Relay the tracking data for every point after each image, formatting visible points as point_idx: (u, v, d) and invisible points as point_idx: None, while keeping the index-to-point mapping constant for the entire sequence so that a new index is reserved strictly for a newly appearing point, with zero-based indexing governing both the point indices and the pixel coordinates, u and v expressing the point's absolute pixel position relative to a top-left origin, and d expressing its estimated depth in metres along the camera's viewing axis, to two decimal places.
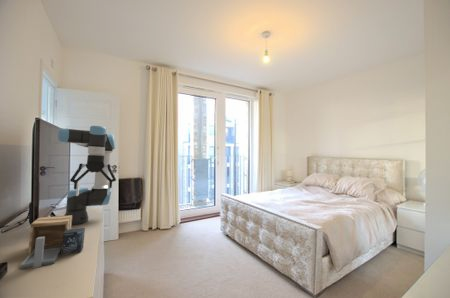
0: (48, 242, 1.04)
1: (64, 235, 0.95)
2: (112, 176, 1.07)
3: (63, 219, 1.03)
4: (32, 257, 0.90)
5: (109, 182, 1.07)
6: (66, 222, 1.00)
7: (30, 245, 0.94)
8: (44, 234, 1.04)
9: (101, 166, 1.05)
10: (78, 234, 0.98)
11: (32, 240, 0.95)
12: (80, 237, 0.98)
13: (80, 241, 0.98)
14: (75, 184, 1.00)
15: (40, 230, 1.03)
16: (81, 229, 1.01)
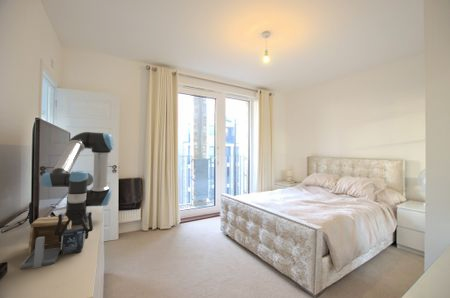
0: (48, 242, 1.04)
1: (64, 235, 0.95)
2: (90, 225, 1.02)
3: (63, 219, 1.03)
4: (32, 257, 0.90)
5: (85, 233, 1.01)
6: None
7: (30, 245, 0.94)
8: (44, 234, 1.04)
9: (82, 213, 1.00)
10: (78, 234, 0.98)
11: (32, 240, 0.95)
12: (80, 237, 0.98)
13: (80, 241, 0.98)
14: (60, 237, 0.96)
15: (40, 230, 1.03)
16: (81, 229, 1.01)
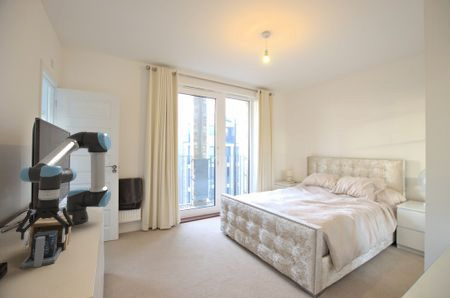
0: None
1: (34, 239, 0.88)
2: (68, 221, 0.95)
3: (63, 219, 1.03)
4: None
5: (64, 228, 0.95)
6: None
7: (30, 245, 0.94)
8: None
9: (55, 211, 0.93)
10: (50, 238, 0.91)
11: (32, 240, 0.95)
12: (52, 240, 0.91)
13: (52, 245, 0.91)
14: (22, 234, 0.88)
15: (40, 230, 1.03)
16: (53, 232, 0.94)
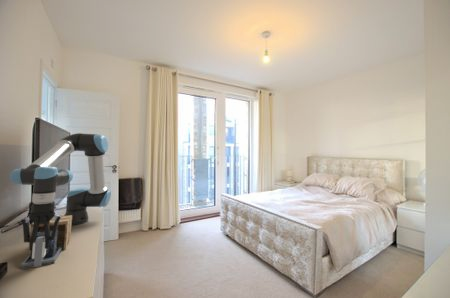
0: None
1: None
2: (53, 232, 0.87)
3: (63, 219, 1.03)
4: None
5: (45, 241, 0.85)
6: (66, 222, 1.00)
7: None
8: None
9: (49, 215, 0.86)
10: None
11: None
12: (52, 240, 0.91)
13: (52, 245, 0.91)
14: (31, 244, 0.84)
15: (40, 230, 1.03)
16: None
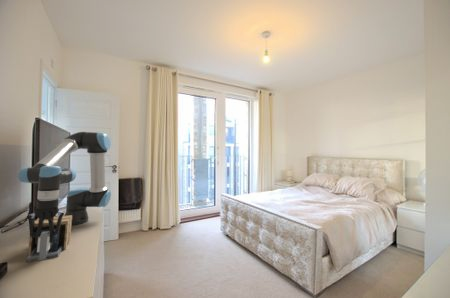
0: None
1: None
2: (56, 227, 0.92)
3: (63, 219, 1.03)
4: None
5: (49, 236, 0.91)
6: (66, 222, 1.00)
7: (30, 245, 0.94)
8: None
9: (53, 212, 0.92)
10: None
11: (32, 240, 0.95)
12: (56, 235, 0.96)
13: (56, 239, 0.96)
14: (36, 239, 0.89)
15: None
16: None
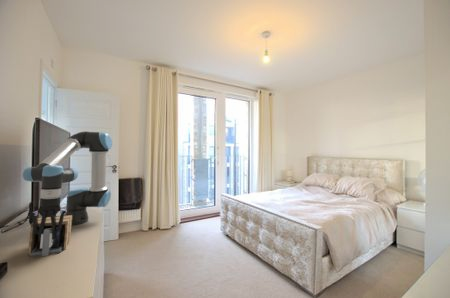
0: None
1: None
2: (59, 225, 0.96)
3: (63, 219, 1.03)
4: None
5: (51, 233, 0.94)
6: (66, 222, 1.00)
7: (30, 245, 0.94)
8: None
9: (56, 209, 0.95)
10: None
11: (32, 240, 0.95)
12: (58, 232, 1.00)
13: (58, 236, 1.00)
14: (39, 235, 0.93)
15: None
16: None
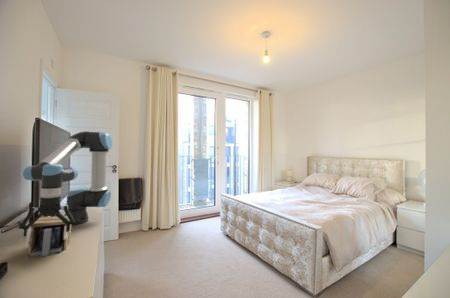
0: None
1: (41, 231, 0.97)
2: (69, 218, 0.98)
3: None
4: None
5: (66, 225, 0.97)
6: None
7: (30, 245, 0.94)
8: None
9: (56, 209, 0.95)
10: (56, 230, 1.00)
11: (32, 240, 0.95)
12: (58, 232, 1.00)
13: (58, 236, 1.00)
14: (25, 231, 0.90)
15: (40, 230, 1.03)
16: (59, 225, 1.03)
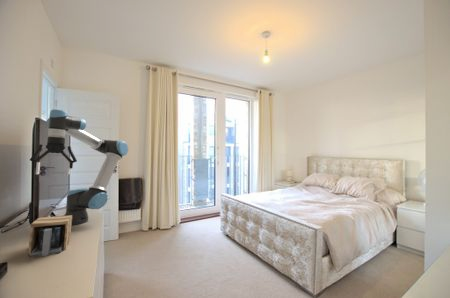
0: None
1: (41, 231, 0.97)
2: (72, 157, 1.14)
3: (63, 219, 1.03)
4: None
5: (69, 163, 1.14)
6: (66, 222, 1.00)
7: (30, 245, 0.94)
8: None
9: (61, 147, 1.12)
10: (56, 230, 1.00)
11: (32, 240, 0.95)
12: (58, 232, 1.00)
13: (58, 236, 1.00)
14: (35, 163, 1.07)
15: (40, 230, 1.03)
16: (59, 225, 1.03)
